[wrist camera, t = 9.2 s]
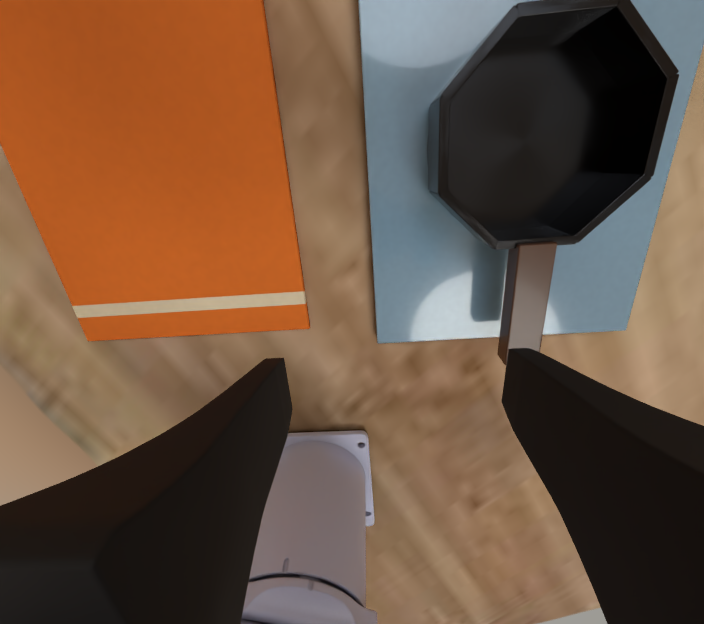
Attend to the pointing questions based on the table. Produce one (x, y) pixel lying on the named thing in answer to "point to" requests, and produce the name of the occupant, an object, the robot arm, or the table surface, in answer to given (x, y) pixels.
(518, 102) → the skillet
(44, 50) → the tea towel
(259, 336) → the table surface
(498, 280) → the trivet
